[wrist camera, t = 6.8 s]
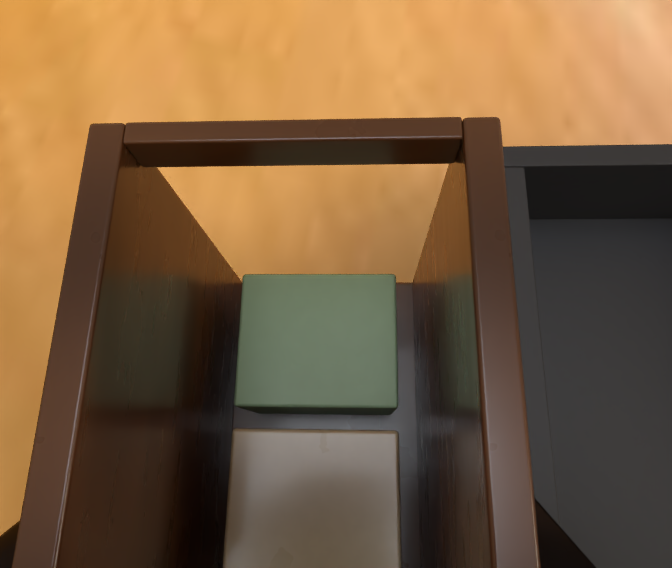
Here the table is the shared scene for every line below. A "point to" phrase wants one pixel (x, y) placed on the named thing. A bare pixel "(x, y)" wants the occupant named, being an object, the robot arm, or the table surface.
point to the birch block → (313, 499)
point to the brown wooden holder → (222, 347)
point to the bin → (597, 341)
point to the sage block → (318, 344)
